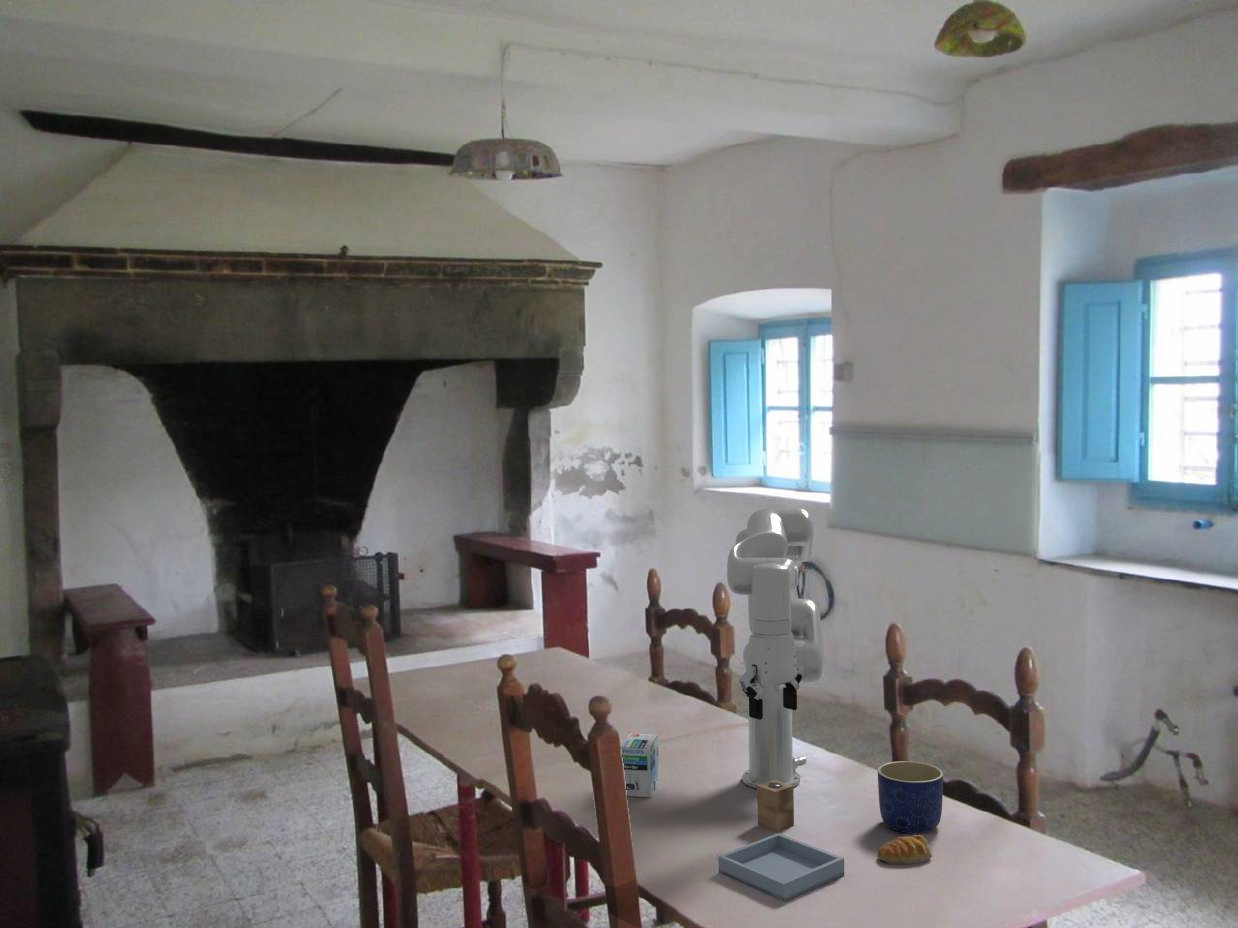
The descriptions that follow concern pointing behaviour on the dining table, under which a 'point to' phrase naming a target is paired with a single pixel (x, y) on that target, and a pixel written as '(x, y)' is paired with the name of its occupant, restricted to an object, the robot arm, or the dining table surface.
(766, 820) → the walnut block
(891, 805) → the planter
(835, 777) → the dining table surface
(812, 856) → the tray
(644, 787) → the light bulb box
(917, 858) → the pastry
